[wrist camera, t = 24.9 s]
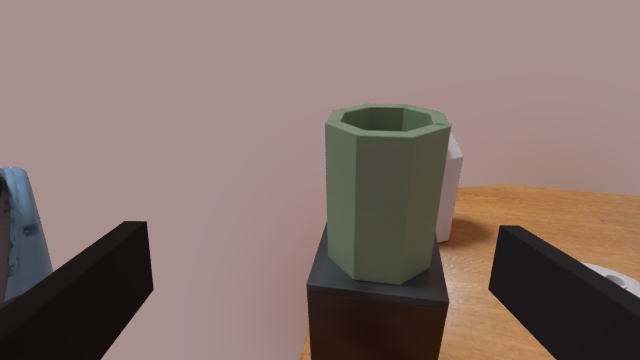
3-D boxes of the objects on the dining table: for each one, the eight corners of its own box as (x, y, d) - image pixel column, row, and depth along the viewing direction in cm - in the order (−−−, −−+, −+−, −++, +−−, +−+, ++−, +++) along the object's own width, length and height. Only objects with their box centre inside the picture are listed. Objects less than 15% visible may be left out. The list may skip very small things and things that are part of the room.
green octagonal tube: (322, 276, 20) (317, 133, 16) (338, 219, 26) (337, 103, 22) (433, 289, 19) (457, 138, 15) (424, 226, 24) (439, 104, 20)
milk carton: (389, 226, 59) (397, 122, 51) (423, 219, 61) (436, 117, 52) (411, 250, 53) (424, 136, 44) (449, 240, 55) (468, 130, 46)
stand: (316, 460, 28) (306, 284, 19) (332, 371, 35) (329, 213, 26) (414, 482, 26) (449, 301, 18) (410, 384, 34) (433, 221, 25)
